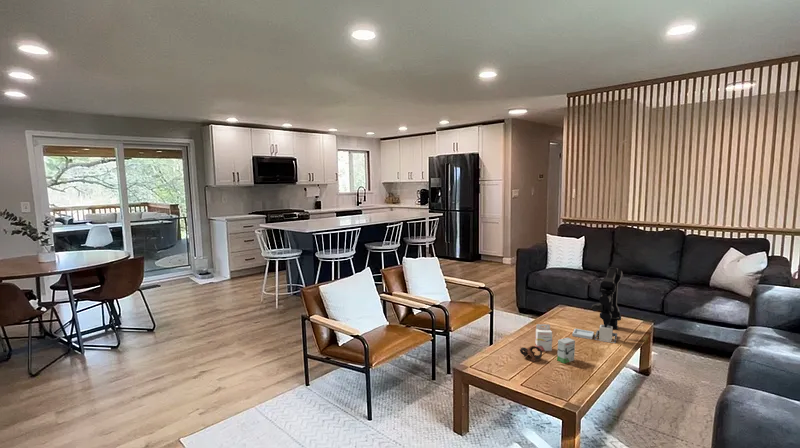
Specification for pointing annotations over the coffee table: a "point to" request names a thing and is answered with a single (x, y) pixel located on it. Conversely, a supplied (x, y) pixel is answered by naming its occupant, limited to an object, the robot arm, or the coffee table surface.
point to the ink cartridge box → (543, 337)
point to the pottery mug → (531, 352)
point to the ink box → (566, 350)
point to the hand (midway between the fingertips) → (606, 324)
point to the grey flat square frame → (606, 341)
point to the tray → (583, 333)
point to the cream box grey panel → (605, 333)
